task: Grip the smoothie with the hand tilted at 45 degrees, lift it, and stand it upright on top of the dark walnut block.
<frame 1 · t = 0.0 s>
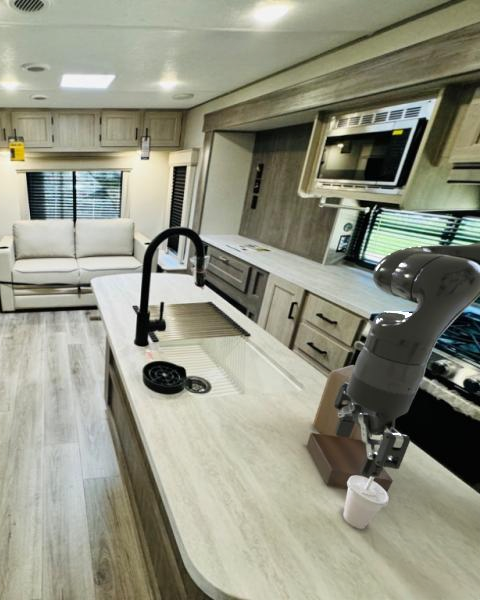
hand: (353, 453, 55), 24 cm above the counter, tool pointing down, fingers open, 8 cm apart
smoothie: (353, 520, 68), on the counter
wooden block: (339, 434, 90), on the counter
walnut block: (342, 469, 79), on the counter
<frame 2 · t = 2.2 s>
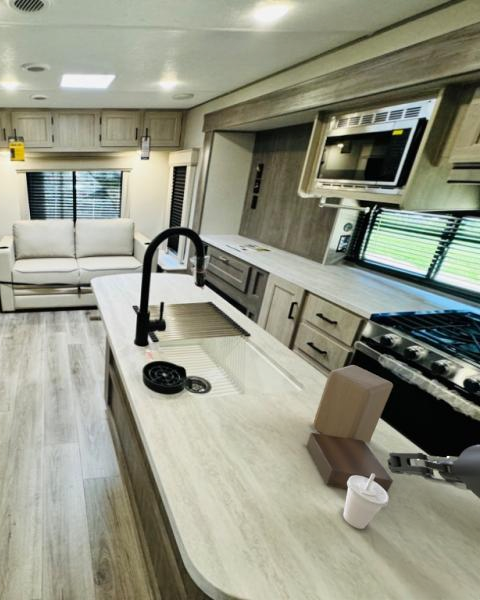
hand: (424, 473, 50), 25 cm above the counter, tool tilted 45°, fingers open, 8 cm apart
nothing on the counter moved.
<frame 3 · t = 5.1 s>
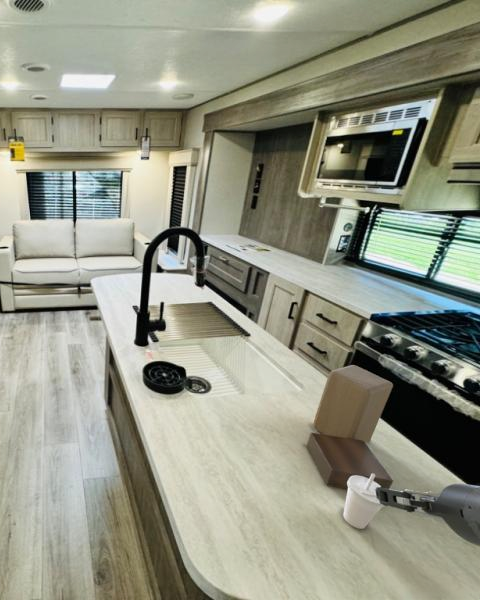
hand: (408, 499, 54), 17 cm above the counter, tool tilted 45°, fingers open, 8 cm apart
nothing on the counter moved.
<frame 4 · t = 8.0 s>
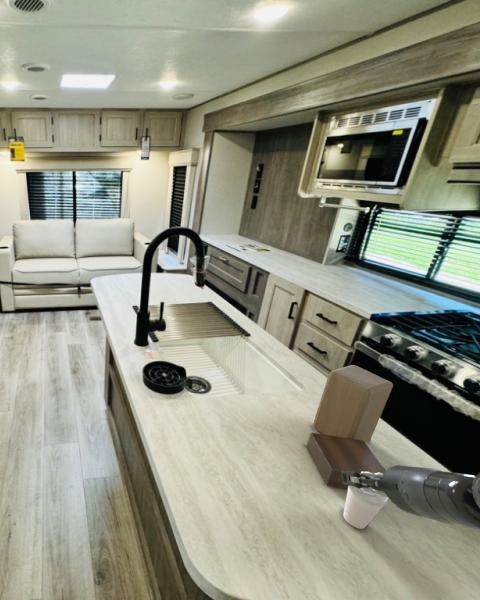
hand: (363, 480, 66), 10 cm above the counter, tool tilted 45°, fingers closed on smoothie, 6 cm apart
smoothie: (353, 520, 68), on the counter, touching gripper
everything else where it was.
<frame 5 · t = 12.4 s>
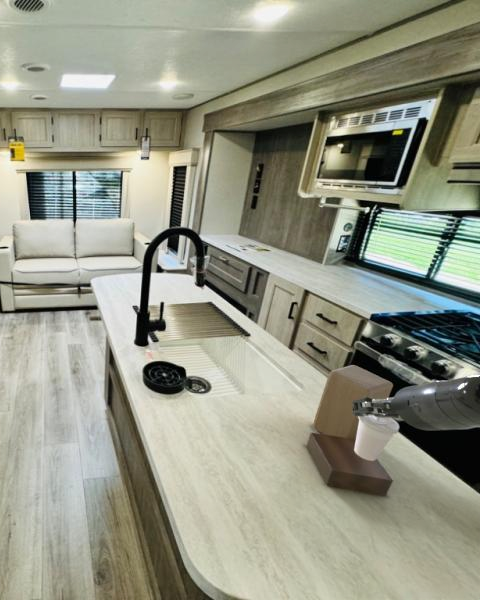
hand: (374, 413, 67), 22 cm above the counter, tool tilted 45°, fingers closed on smoothie, 6 cm apart
smoothie: (364, 454, 69), point 12 cm above the counter, touching gripper
everything else where it was.
when the fingers open (15 cm above the counter, at t = 16.9 s): smoothie stays where it is, resting on walnut block.
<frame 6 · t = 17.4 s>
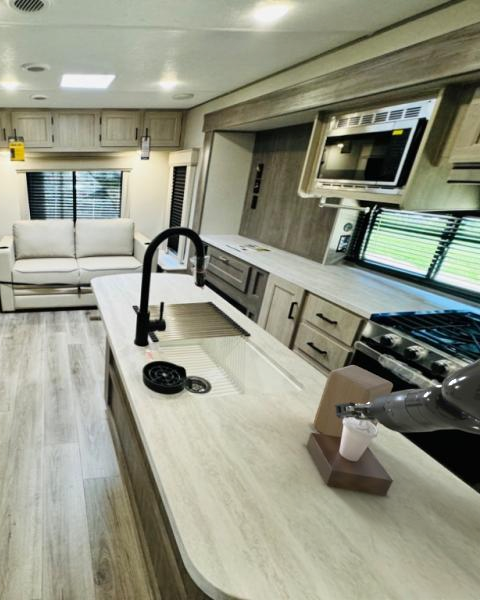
hand: (358, 416, 75), 16 cm above the counter, tool tilted 45°, fingers open, 8 cm apart
smoothie: (348, 455, 77), point 5 cm above the counter, touching walnut block
everything else where it was.
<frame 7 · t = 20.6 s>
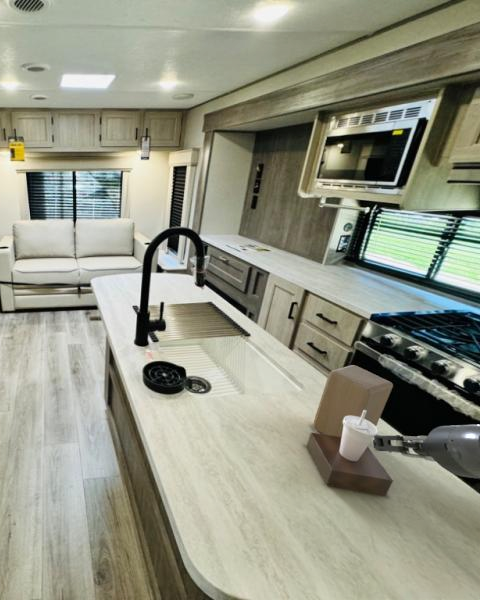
hand: (402, 448, 61), 20 cm above the counter, tool tilted 45°, fingers open, 8 cm apart
nothing on the counter moved.
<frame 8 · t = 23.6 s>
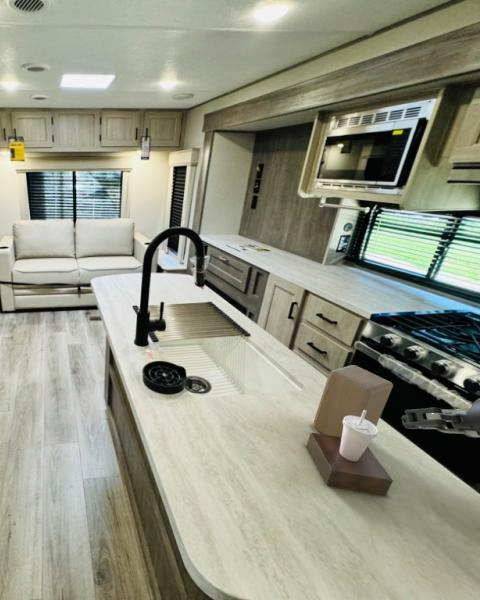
hand: (435, 426, 55), 29 cm above the counter, tool tilted 45°, fingers open, 8 cm apart
nothing on the counter moved.
at the end: smoothie inside the target area on the walnut block (0.2 cm from its centre), point 4.8 cm above the walnut block's base; smoothie tilted 0°; the gripper is holding nothing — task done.
